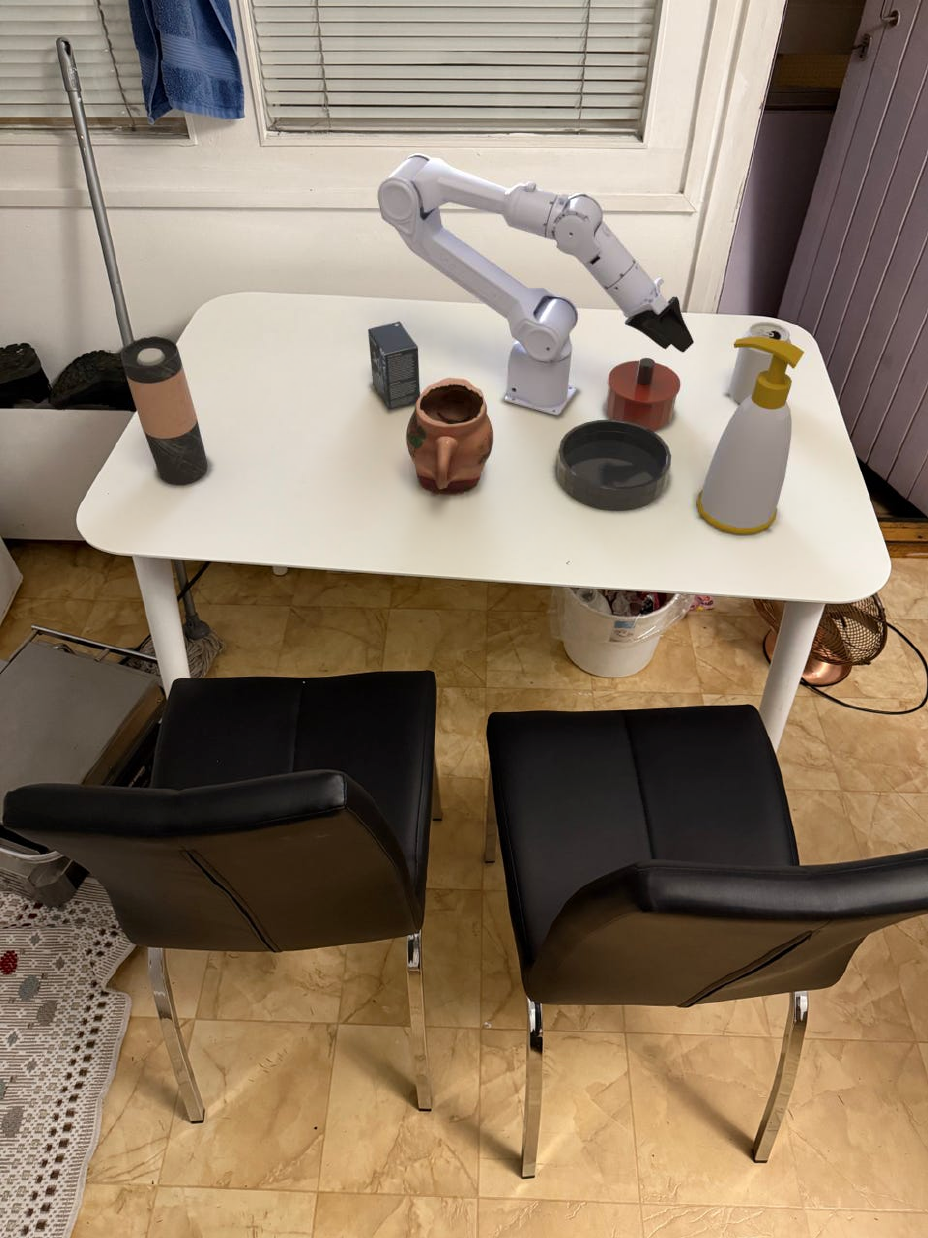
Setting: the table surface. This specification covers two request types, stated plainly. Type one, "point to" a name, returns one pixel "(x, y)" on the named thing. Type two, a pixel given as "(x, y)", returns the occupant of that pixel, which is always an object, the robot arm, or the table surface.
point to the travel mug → (165, 409)
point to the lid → (644, 382)
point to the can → (754, 359)
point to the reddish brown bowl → (639, 412)
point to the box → (394, 365)
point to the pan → (613, 464)
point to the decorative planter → (449, 437)
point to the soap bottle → (753, 449)
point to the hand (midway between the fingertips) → (678, 345)
